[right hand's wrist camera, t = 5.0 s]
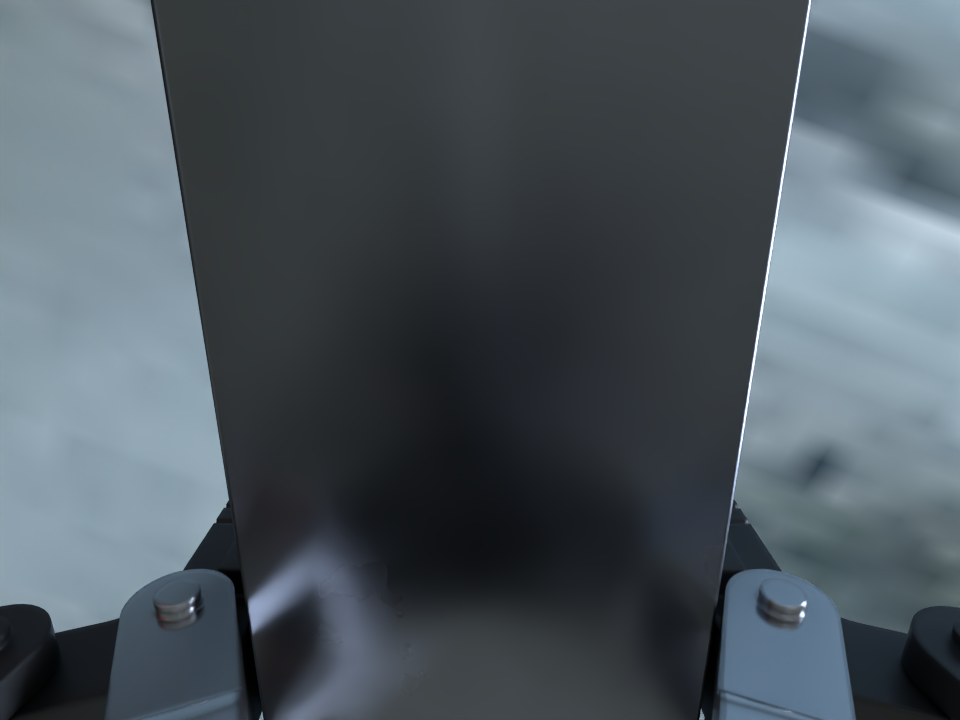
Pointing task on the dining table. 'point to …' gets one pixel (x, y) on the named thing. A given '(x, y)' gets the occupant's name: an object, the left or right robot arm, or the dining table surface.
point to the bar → (481, 335)
